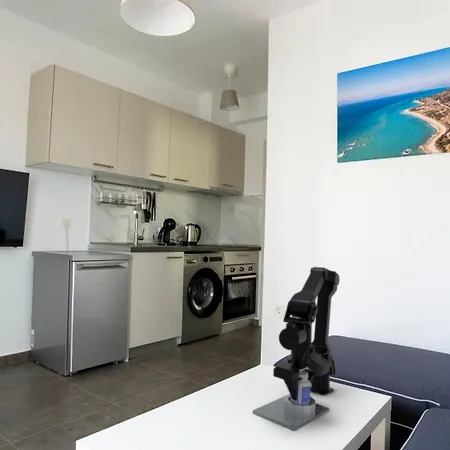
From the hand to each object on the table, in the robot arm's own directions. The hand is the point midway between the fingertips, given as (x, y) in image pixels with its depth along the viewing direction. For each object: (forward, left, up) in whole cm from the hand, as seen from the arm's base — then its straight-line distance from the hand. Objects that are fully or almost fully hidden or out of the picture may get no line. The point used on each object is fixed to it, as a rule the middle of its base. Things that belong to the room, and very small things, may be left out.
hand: (300, 397), depth 112 cm
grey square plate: (+1, -2, -4) cm, 5 cm away
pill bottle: (0, 0, -3) cm, 3 cm away
